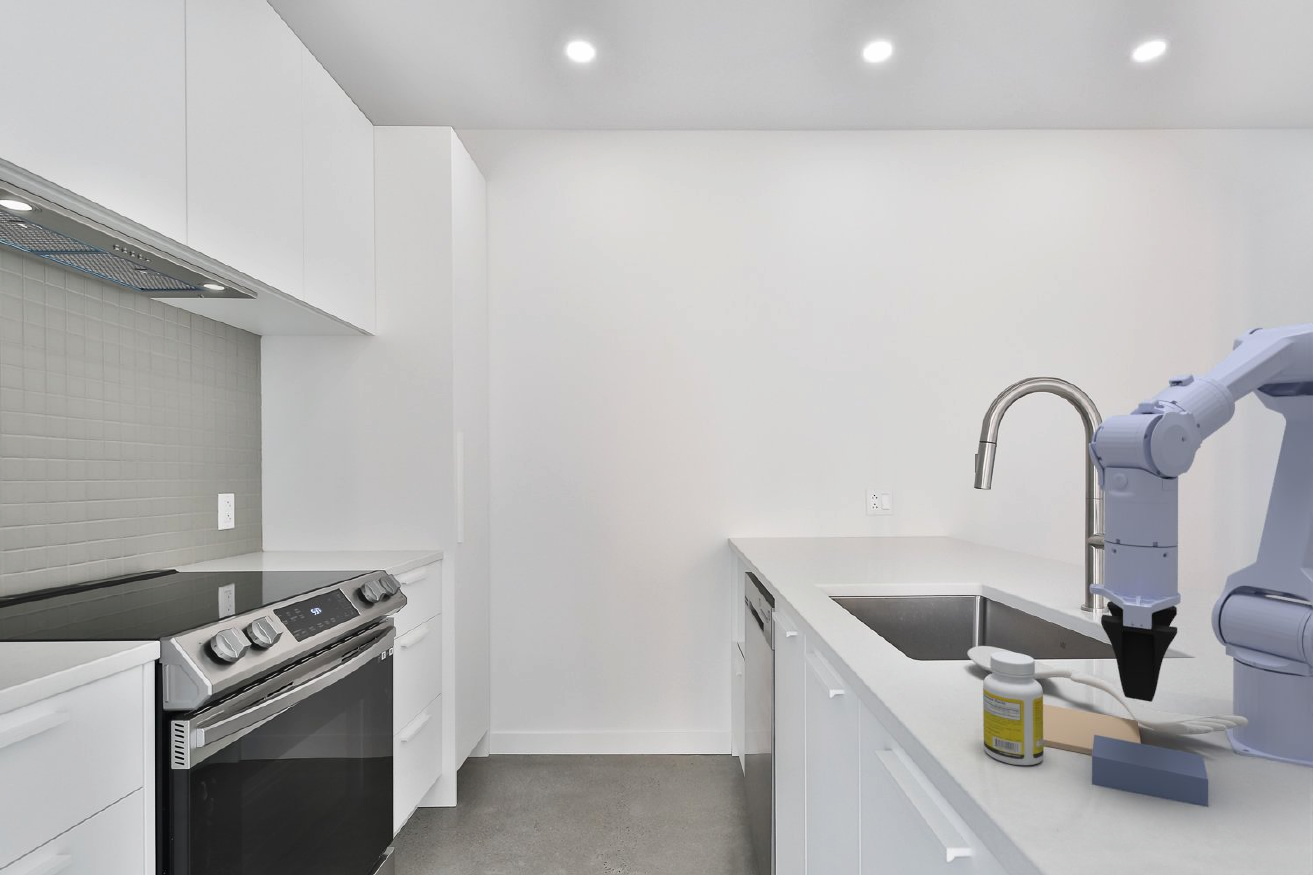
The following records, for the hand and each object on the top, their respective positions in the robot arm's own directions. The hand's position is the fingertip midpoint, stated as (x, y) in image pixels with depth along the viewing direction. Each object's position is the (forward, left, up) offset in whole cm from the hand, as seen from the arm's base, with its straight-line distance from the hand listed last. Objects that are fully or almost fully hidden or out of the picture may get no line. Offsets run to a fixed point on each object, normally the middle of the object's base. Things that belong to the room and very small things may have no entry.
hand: (1139, 688), depth 68 cm
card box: (-1, +1, -9) cm, 9 cm away
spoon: (+5, -18, -8) cm, 20 cm away
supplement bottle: (+11, +1, -9) cm, 14 cm away
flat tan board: (+7, -9, -8) cm, 14 cm away
